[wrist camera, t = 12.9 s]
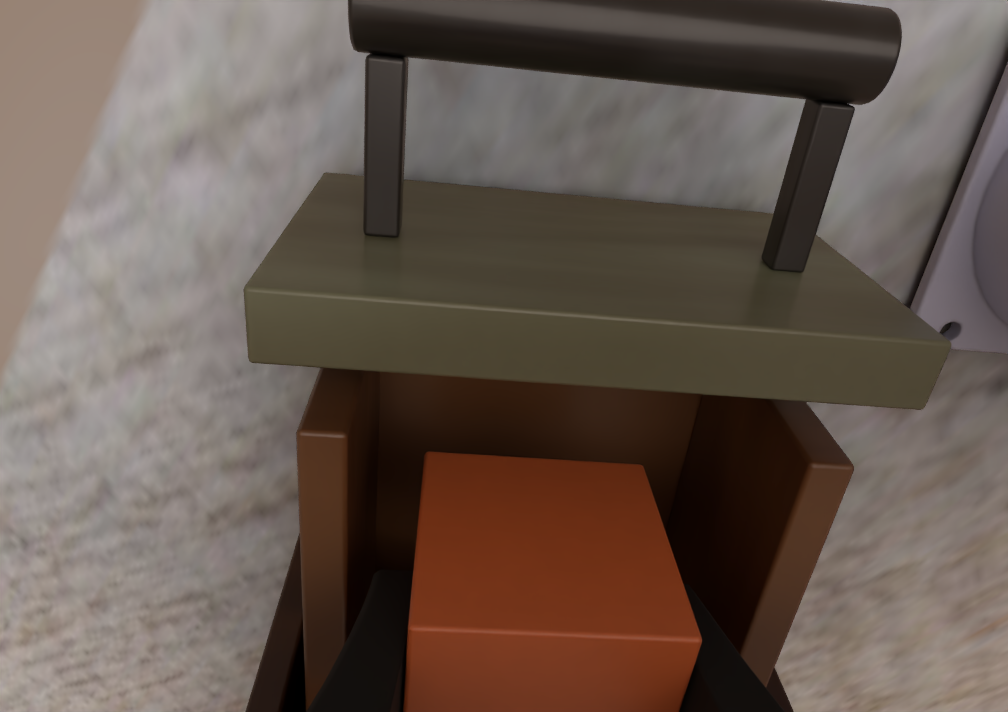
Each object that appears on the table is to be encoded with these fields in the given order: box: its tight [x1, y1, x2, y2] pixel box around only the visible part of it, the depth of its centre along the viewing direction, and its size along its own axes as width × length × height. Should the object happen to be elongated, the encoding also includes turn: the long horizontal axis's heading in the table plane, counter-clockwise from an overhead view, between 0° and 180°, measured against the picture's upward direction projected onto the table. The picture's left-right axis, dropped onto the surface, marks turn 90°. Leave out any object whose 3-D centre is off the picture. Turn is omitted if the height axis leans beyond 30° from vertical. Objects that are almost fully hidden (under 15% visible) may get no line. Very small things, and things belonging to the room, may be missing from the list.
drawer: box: [244, 0, 951, 711], centre depth 15 cm, size 16×10×6 cm, turn 174°
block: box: [403, 451, 702, 712], centre depth 12 cm, size 4×4×4 cm
